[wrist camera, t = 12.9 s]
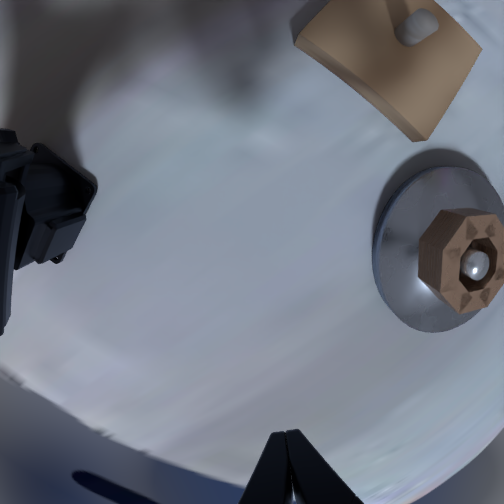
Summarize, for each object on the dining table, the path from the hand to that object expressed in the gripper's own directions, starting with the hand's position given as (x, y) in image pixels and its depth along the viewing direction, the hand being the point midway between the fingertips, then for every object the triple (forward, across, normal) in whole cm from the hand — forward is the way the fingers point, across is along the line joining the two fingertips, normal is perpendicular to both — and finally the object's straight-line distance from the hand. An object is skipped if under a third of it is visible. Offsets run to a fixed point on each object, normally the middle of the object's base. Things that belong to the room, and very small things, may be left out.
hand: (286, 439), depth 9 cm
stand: (+13, -11, -16) cm, 23 cm away
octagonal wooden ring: (+12, -13, -1) cm, 18 cm away
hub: (+13, -13, -1) cm, 19 cm away
